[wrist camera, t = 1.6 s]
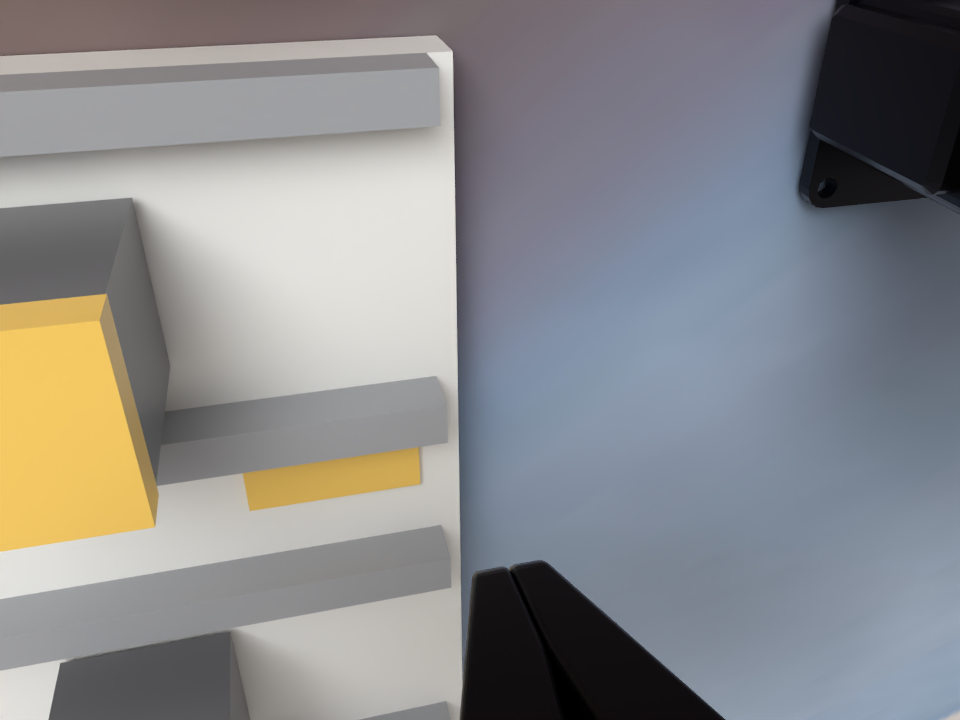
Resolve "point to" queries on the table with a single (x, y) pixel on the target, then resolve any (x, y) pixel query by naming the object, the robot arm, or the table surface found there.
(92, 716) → the untagged breaker
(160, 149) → the breaker panel
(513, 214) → the table surface
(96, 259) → the block
